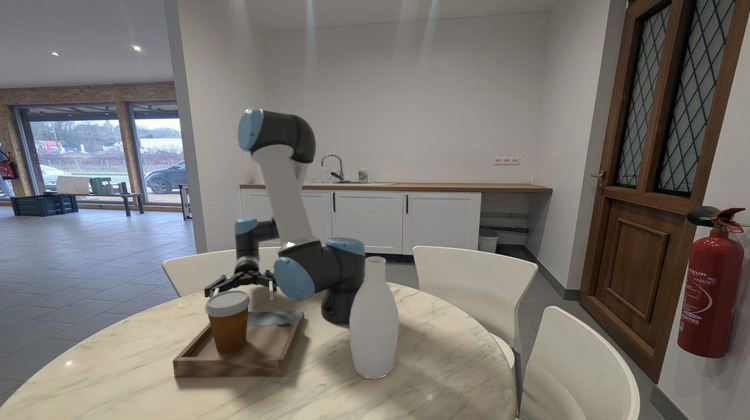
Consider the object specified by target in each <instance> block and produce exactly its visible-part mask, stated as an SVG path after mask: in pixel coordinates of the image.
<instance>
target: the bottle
mask: <svg viewBox="0 0 750 420" xmlns="http://www.w3.org/2000/svg"><path fill="white" fill-rule="evenodd" d="M386 263H387V259H386V258H384V257H381V256H377V255H376V256H369V257H365V275H364V282H363V284H362V285H361V287H360V289H359V290H358V292H357V294H356V296H355V299H354V302H353V305H352V308H351V313H350V319H349V341H350V342H349V343H350V350H351V357H352V364H353V368H354V369H355V372H356V373H357V374H359V375H360V376H361V375H362V376H361V377H363V376H364V377H363V378H365V377H369V378H379V377H382V376H384V375H386V374H387V375H388V373H389V372H390V373H391V372H392V370H393V367H394V363H395V359H396V353H397V348H398V339H399V330H400V329H399V328H400V318H399V311H398V306H397V303H396V299H395V295H394V293H393V292H392V290H391V289H390V287H389V284H388V283H387V280H386ZM390 373H389V374H390ZM387 375H386V376H387ZM382 378H383V377H382Z"/></svg>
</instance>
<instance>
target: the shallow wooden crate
mask: <svg viewBox="0 0 750 420" xmlns="http://www.w3.org/2000/svg"><path fill="white" fill-rule="evenodd" d="M304 318H305V311H301V310H299V311H298V310H297V311H295V310H294V311H286V310H285V311H248V320H247V332H246V343H245V345H244V346H243V347H242V348H240V349H239V350H237V351H234V352H231V353H220V352H218V351H217V348H216V344H215V340H214V336H213V332H212V328H211V325H210V322H209V323H208V324H207V325H206V326H205V327H204V328H203V329H202V330H201V331H200V332H199V333H198V334H197V335H196V336H195V337H194V338H193V339H192V340H191V341H190V342H189V343H188V344H187V345H186V346H185V347H184V348H183V350H181V351H180V352H179V354H178V355H177V356H175V358H173V359H172V366H173V368H172V369H173V375H174V376H173V377H174V378H221V377H222V378H235V377H236V378H238V377H240V378H245V377H246V378H249V377H254V378H255V377H256V378H257V377H284V376H285V374H286V371H287V369H288V366H289V364H290V361H291V358H292V355H293V353H294V351H295V348H296V345H297V342H298V340H299V337H300V335H301V333H302V332H301V330H302V329H301V328H302V327H301V325H302V323H303V320H304Z"/></svg>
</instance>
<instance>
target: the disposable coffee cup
mask: <svg viewBox="0 0 750 420" xmlns="http://www.w3.org/2000/svg"><path fill="white" fill-rule="evenodd" d="M251 300H252V299H251V298H250V296H249V294H248V292H247V291H245V290H240V289H239V290H238V289H233V290H232V289H230V290H228V291H225V292H222V293H218V294H216V295H214V296H212V297H211V298H210V297H208V299H207V301H206V303H205V304H206V305H205V306H204V311H205V313H206V314H207V315H208V320H209V323H210V325H211V328H212V332H213V336H214V340H215V344H216V348H217V351H218V352H220V353H231V352H234V351H237V350H239V349H240V348H242V347H243V346H244V345H245V343H246V332H247V320H248V312H249V305H250V303H251Z"/></svg>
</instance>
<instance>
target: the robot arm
mask: <svg viewBox="0 0 750 420" xmlns="http://www.w3.org/2000/svg"><path fill="white" fill-rule="evenodd" d="M237 142H238V145H239V148H240V149H241V150H242V151H243V152H244V151H245V152H246V153H247V152H249V153H250V157H251V160H252V162H254V163H255V164H258V165H259V169H260V171H261V175H262V179H263V182H264V185H265V190H266V194H267V196H268V201H269V204H270V208H271V210H272V216H271V219H270V220H263V221H258V219H257V217H254V216H253V217H252V216H251V217H249V216H247V217H239V218H237V219H235V221H234V232H233V233H234V239H235V241H234V242H235V255H236V256H235V257H236V260H235V261H236V262H235V267H234V271H233V274H232V275H231V276H227V275H226V274H222V275H221V276H220V278H218V279H217V280H215V281H214V282H212V283H210V284H209V285H208V286H206V287H205V288H204V289H203V291H204V292H203V294H204V298H211V297H212V296H214V295H216V294H218V293H222V292H225V291H231V290H232V289H237V288H239V287H241V286H250V285H254V286H262V287H266V288H269V300H270V301H273V300H274V293H277V291H278V288H279V290H280V291H281V293H283V295H285V296H286V298H288V299H290V300H293V301H300V300H303V299H305V298H311V297H312V296H314V295H316V294H318V293H322V292H323V291H325V293H324V296H323V298H322V300H321V305H320V314H321V317H323V319H325V320H326V321H328V322H330V323H333V322H334V324H338V323H349V319H350V313H351V308H352V305H353V302H354V299H355V296H356V294H357V292H358V290H359V289H360V287H361V285H362V284H363V282H364V280H365V266H366V263H365V259H366V253H365V252H366V251H365V250H366V249H365V244H364V242H363V241H361V240H359V239H356V238H355V239H354V238H351V237H344V236H343V237H341V236H337V237H335V236H334V237H329V238H327V239H326V241H325V246H323V245H322V242H321V241H322V240H321V239H320V238H317V237H316V236H314V234H313V231H312V228H311V224H310V220H309V217H308V213H307V210H306V207H305V204H304V200H303V196H302V193H301V192H302V189H303V185H304V184H305V183H304V182H305V178H306V176H307V172H308V169H309V166H310V165H311V164H312V163H313V162H314V159H315V156H316V151H317V140H316V137H315V133H314V131H313V128H312V127H311V125H310V123H308V121H307V120H305V119H304V118H303V117H301V116H299V115H297V114H291V113H290V114H289V113H282V112H275V111H269V110H264V109H263V108H260V109H259V108H248V109H246V110H244V112H243V113H242V114H241V117H240V119H239V122H238V128H237ZM278 239H279V240H280V244H281V245H280V248H279V249H278V251H277V257H278V258H277V259H276V260H274V261H275V262H273V272H271V270H270V269H266V270H265V271H264V272H260V260H261V259H260V258H261V257H260V249H259V248H260V247H259V245H260V244H259V243H262V242H269V241H272V240H273V241H274V240H278ZM349 324H350V323H349Z"/></svg>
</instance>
